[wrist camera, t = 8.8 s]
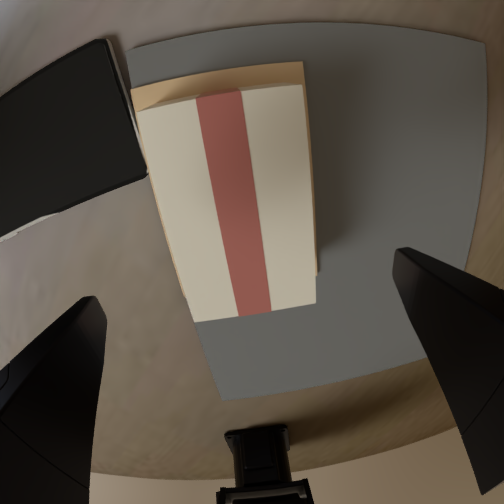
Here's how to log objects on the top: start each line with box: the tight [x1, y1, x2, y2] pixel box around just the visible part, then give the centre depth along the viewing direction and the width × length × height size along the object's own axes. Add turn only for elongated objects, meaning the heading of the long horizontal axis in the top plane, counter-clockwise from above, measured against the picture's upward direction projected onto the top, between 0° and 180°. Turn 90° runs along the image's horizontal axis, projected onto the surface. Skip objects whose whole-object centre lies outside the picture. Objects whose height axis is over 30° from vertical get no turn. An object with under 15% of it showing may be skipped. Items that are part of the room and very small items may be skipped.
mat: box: [125, 22, 487, 401], centre depth 19 cm, size 26×20×1 cm
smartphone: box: [0, 39, 149, 243], centre depth 14 cm, size 8×1×15 cm
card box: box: [136, 82, 316, 322], centre depth 15 cm, size 10×6×4 cm, turn 8°
